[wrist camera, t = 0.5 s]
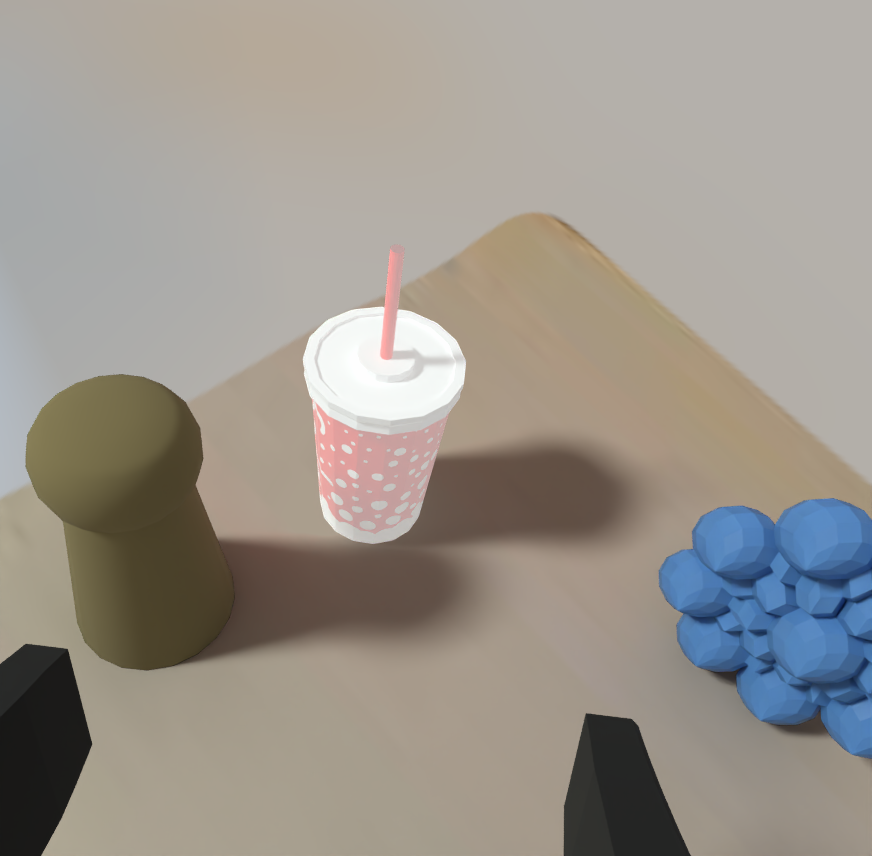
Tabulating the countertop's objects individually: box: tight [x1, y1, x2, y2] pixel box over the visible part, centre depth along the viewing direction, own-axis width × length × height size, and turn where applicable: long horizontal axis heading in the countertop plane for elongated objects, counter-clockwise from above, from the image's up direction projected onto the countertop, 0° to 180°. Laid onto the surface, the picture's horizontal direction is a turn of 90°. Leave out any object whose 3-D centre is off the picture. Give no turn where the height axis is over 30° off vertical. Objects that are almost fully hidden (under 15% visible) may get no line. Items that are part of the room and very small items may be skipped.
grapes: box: [659, 498, 872, 759], centre depth 28 cm, size 12×7×12 cm, turn 49°
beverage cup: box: [303, 245, 466, 544], centre depth 31 cm, size 6×6×14 cm
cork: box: [26, 374, 235, 670], centre depth 28 cm, size 6×6×11 cm
